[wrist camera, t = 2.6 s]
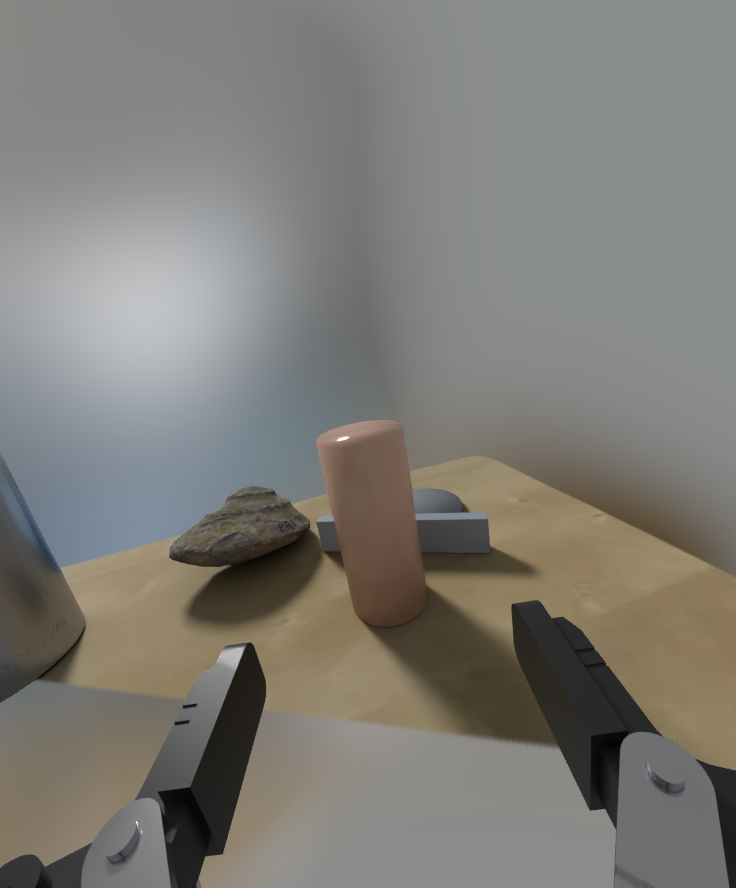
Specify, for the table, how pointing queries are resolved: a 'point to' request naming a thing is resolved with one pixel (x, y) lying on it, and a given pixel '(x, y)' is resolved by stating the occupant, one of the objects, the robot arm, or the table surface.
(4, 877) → the robot arm
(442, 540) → the gray rectangular bar
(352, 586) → the peach rounded cylinder
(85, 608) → the table surface
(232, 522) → the fossilized seashell
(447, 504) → the slate coaster
